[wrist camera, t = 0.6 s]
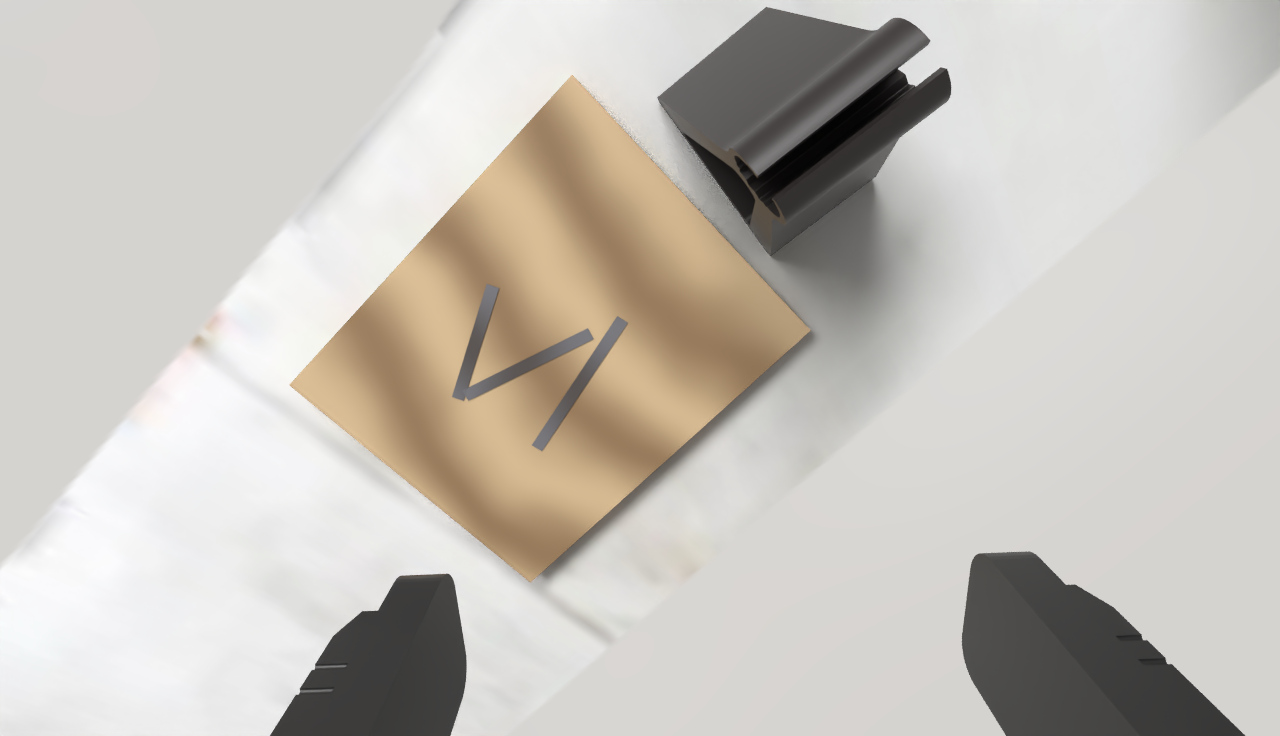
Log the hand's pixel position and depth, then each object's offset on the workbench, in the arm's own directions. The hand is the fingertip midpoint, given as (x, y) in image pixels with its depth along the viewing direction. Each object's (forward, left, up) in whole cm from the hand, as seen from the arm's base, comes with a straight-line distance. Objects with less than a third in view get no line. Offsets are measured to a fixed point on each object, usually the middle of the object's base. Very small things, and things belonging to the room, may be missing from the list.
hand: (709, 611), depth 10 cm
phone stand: (-9, -2, -24) cm, 26 cm away
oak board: (+5, -2, -24) cm, 24 cm away
